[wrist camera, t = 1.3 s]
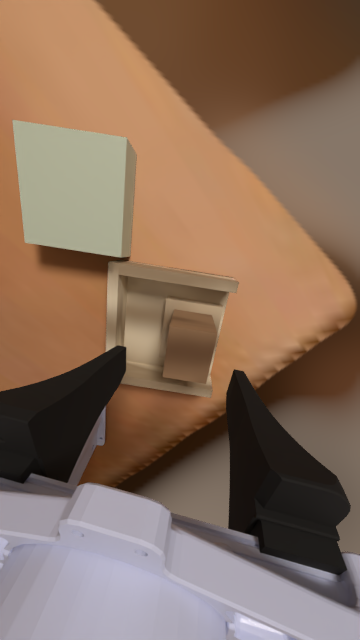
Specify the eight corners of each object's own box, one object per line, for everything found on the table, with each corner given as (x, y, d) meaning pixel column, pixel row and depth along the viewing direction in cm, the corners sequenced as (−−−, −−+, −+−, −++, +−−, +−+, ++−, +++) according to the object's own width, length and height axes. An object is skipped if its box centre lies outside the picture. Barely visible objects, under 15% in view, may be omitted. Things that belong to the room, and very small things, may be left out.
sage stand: (130, 256, 22) (121, 257, 19) (46, 243, 22) (24, 242, 19) (136, 154, 19) (126, 137, 16) (39, 139, 19) (12, 119, 16)
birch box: (208, 378, 26) (210, 397, 23) (115, 364, 26) (104, 380, 23) (231, 277, 22) (238, 282, 18) (120, 259, 22) (108, 261, 19)
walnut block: (203, 356, 23) (206, 383, 18) (168, 350, 23) (162, 377, 18) (211, 315, 22) (217, 333, 17) (174, 309, 22) (169, 326, 17)
